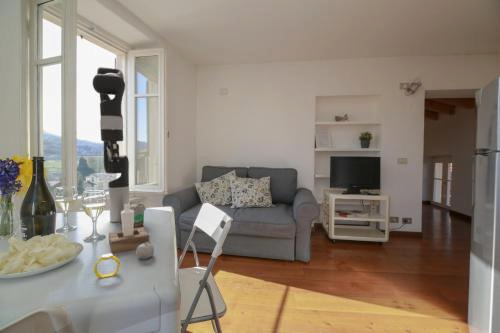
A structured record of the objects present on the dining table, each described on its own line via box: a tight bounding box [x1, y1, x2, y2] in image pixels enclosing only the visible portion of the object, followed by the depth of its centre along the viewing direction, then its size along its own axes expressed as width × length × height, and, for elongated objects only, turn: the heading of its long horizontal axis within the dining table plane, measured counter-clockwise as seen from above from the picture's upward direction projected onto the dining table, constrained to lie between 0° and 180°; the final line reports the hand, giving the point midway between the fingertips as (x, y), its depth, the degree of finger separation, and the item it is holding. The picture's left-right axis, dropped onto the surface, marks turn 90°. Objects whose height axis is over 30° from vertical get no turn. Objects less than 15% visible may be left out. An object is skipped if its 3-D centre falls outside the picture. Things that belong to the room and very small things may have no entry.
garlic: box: [135, 241, 155, 260], centre depth 78 cm, size 6×5×5 cm
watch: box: [93, 253, 121, 279], centre depth 66 cm, size 6×3×6 cm, turn 112°
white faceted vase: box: [121, 203, 134, 237], centre depth 90 cm, size 5×4×15 cm
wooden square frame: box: [108, 226, 150, 254], centre depth 90 cm, size 12×12×4 cm
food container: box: [122, 203, 146, 228], centre depth 110 cm, size 12×6×10 cm, turn 168°
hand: (114, 170), depth 95 cm, fingers open, 8 cm apart
